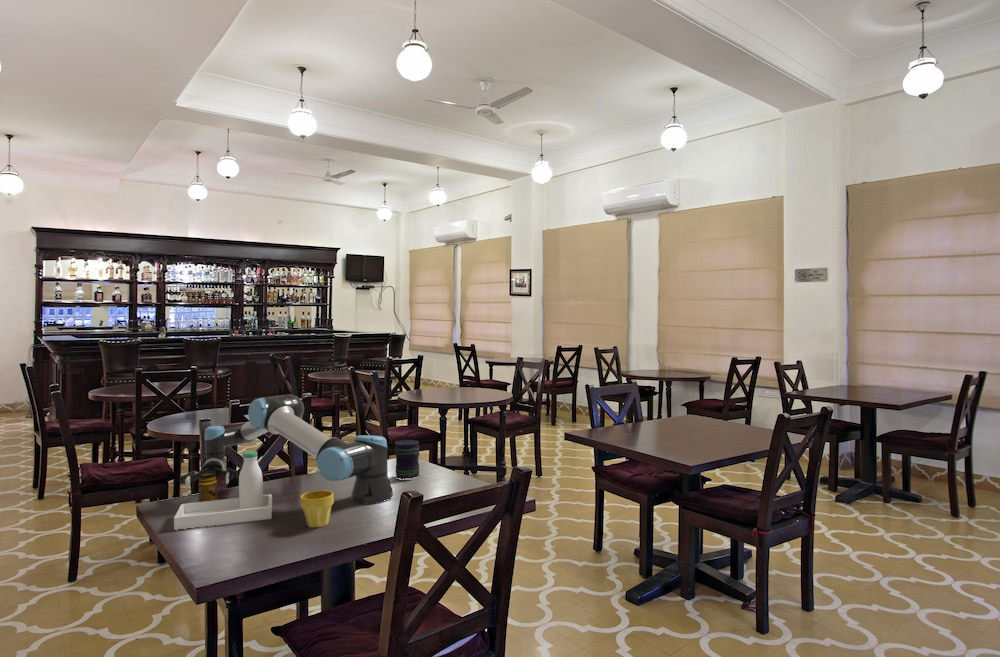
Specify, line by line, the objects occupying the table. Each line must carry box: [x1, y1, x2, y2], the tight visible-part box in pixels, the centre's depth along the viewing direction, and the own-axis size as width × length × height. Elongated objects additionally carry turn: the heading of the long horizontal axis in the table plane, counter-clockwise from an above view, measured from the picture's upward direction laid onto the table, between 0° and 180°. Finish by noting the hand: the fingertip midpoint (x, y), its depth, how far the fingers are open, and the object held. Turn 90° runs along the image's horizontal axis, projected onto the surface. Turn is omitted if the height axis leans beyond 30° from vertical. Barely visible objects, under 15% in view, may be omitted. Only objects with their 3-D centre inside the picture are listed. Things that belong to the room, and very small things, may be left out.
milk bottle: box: [238, 450, 264, 510], centre depth 210 cm, size 8×8×20 cm
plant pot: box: [300, 489, 335, 528], centre depth 196 cm, size 10×10×10 cm
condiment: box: [197, 472, 218, 502], centre depth 217 cm, size 7×8×12 cm
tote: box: [173, 493, 273, 531], centre depth 205 cm, size 29×16×4 cm, turn 110°
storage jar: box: [394, 439, 420, 479], centre depth 252 cm, size 10×10×15 cm
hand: (206, 482), depth 224 cm, fingers open, 13 cm apart
